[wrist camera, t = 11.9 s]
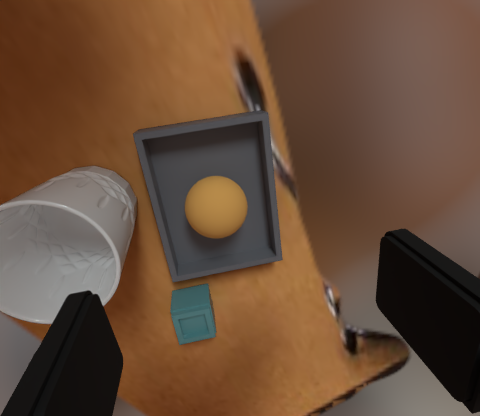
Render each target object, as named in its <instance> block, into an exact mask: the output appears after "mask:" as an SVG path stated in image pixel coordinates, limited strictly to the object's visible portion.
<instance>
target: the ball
mask: <svg viewBox="0 0 480 416" xmlns="http://www.w3.org/2000/svg"><path fill="white" fill-rule="evenodd" d="M247 208H248V206H247V199H246V196H245V194H244V192H243V190H242V189H241V187H240V186H239V185H238V184H237V183H235V182H234V181H232V180H231V179H229V178H226V177H223V176H210V177H206V178H203V179H201V180H199V181H198V182H197V183H196V184H194V185H193V187H192V188H191V189H190V190H189V192H188V194H187V197H186V200H185V215H186V218H187V220H188V222H189V224H190V225H191V227H192V228H193V229H194V230H195V231H196V232H198V233H199V234H201V235H203V236H205V237H208V238H224V237H227V236H230V235H231V234H233V233H235V232H236V231H237V230H238V229H239V228H240V227H241V226H242V224H243V222H244V221H245V218H246V215H247Z"/></svg>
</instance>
